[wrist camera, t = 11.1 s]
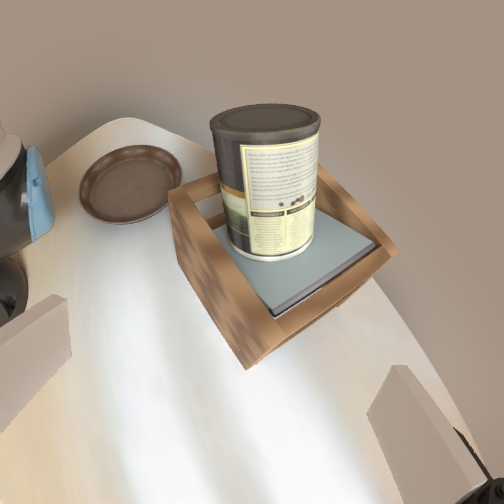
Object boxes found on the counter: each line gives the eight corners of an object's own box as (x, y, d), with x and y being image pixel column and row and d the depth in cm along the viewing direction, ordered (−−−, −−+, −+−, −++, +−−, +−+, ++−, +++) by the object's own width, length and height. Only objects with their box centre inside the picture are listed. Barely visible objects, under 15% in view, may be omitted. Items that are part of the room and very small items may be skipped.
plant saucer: (204, 182, 54) (205, 170, 51) (127, 254, 44) (122, 243, 41) (137, 144, 58) (135, 133, 55) (66, 199, 47) (61, 188, 45)
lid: (201, 242, 35) (199, 236, 35) (292, 201, 41) (292, 195, 41) (275, 319, 25) (275, 312, 25) (374, 250, 31) (376, 243, 31)
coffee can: (210, 248, 32) (186, 129, 23) (251, 201, 39) (242, 101, 29) (297, 274, 28) (301, 138, 19) (324, 217, 35) (331, 108, 25)
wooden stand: (178, 262, 44) (167, 191, 30) (275, 216, 52) (299, 145, 38) (246, 370, 37) (270, 347, 23) (344, 301, 45) (399, 250, 31)
